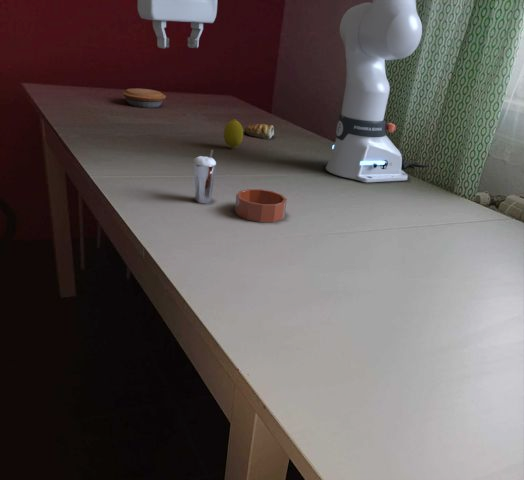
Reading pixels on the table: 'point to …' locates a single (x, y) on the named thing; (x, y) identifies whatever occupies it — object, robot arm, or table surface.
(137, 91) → the pie
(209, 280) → the table surface
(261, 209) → the orange round shallow bowl
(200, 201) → the milkshake
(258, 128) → the pastry
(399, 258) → the table surface
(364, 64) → the robot arm
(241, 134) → the lemon
